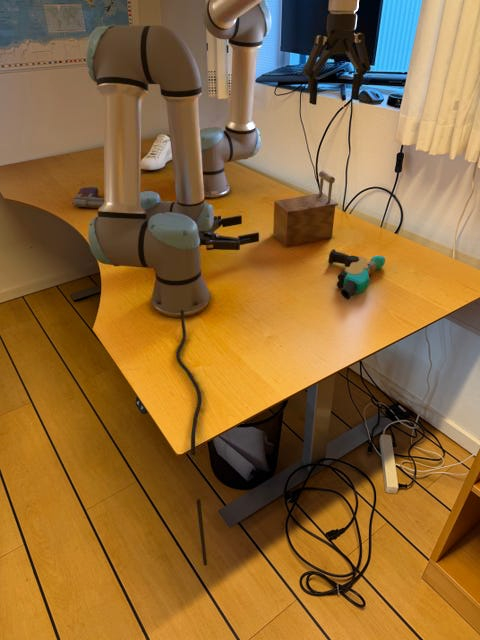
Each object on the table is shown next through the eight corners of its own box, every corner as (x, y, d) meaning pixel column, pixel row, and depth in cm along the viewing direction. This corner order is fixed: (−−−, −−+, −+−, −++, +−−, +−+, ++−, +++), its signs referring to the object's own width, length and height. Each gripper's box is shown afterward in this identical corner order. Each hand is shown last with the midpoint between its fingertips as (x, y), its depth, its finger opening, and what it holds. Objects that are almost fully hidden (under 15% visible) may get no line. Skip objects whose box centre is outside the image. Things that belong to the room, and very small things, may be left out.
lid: (322, 195, 156) (325, 168, 151) (337, 205, 149) (340, 178, 144) (274, 203, 151) (275, 176, 146) (287, 214, 144) (288, 186, 139)
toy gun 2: (307, 279, 125) (363, 294, 119) (338, 241, 143) (388, 251, 138) (306, 294, 127) (360, 308, 122) (336, 254, 146) (385, 265, 140)
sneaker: (133, 173, 208) (129, 144, 201) (161, 153, 230) (158, 127, 223) (155, 175, 205) (151, 146, 198) (180, 155, 227) (178, 129, 220)
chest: (317, 226, 163) (320, 195, 156) (331, 237, 155) (335, 206, 149) (273, 234, 158) (274, 203, 151) (285, 246, 150) (287, 214, 144)
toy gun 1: (130, 197, 185) (114, 212, 174) (86, 194, 188) (67, 209, 177) (128, 187, 183) (112, 202, 171) (84, 184, 186) (65, 199, 174)
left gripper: (173, 234, 153) (235, 223, 159) (197, 270, 134) (266, 256, 141) (171, 212, 149) (234, 202, 155) (196, 246, 130) (266, 233, 136)
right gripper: (374, 10, 129) (363, 95, 141) (292, 13, 121) (288, 102, 134) (391, 11, 123) (378, 100, 136) (306, 15, 116) (300, 108, 128)
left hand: (249, 227), depth 148 cm, fingers open, 13 cm apart
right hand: (333, 101), depth 135 cm, fingers open, 13 cm apart
